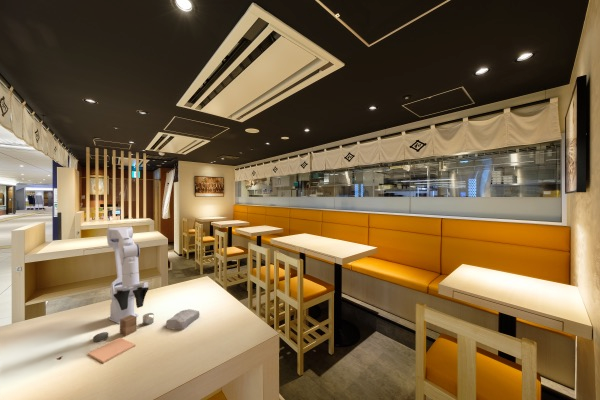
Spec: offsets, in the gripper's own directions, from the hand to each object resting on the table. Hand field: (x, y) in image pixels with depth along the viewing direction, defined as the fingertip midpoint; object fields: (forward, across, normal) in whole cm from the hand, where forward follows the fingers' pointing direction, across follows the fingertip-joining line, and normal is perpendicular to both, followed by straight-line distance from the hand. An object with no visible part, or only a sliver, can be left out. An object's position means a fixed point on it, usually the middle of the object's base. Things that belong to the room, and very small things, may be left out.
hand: (132, 308), depth 94 cm
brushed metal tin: (+9, -2, +9) cm, 13 cm away
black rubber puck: (+9, -10, -4) cm, 14 cm away
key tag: (+10, -14, -16) cm, 23 cm away
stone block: (+12, +12, +13) cm, 21 cm away
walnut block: (+9, -4, +1) cm, 10 cm away
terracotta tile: (+12, 0, -9) cm, 15 cm away
